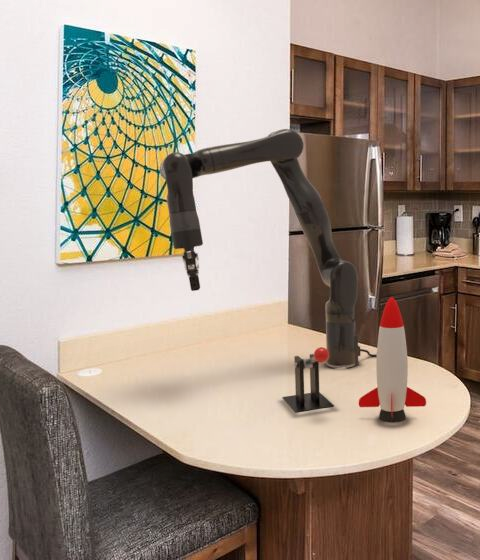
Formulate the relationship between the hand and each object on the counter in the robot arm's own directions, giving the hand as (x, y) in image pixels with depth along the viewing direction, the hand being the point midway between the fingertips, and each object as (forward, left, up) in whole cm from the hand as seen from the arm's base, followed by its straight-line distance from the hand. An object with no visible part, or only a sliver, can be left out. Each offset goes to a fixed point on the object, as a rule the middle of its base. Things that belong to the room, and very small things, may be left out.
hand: (195, 289), depth 165 cm
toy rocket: (-38, +41, -29) cm, 63 cm away
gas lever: (-23, +29, -16) cm, 41 cm away
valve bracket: (-23, +22, -29) cm, 43 cm away
